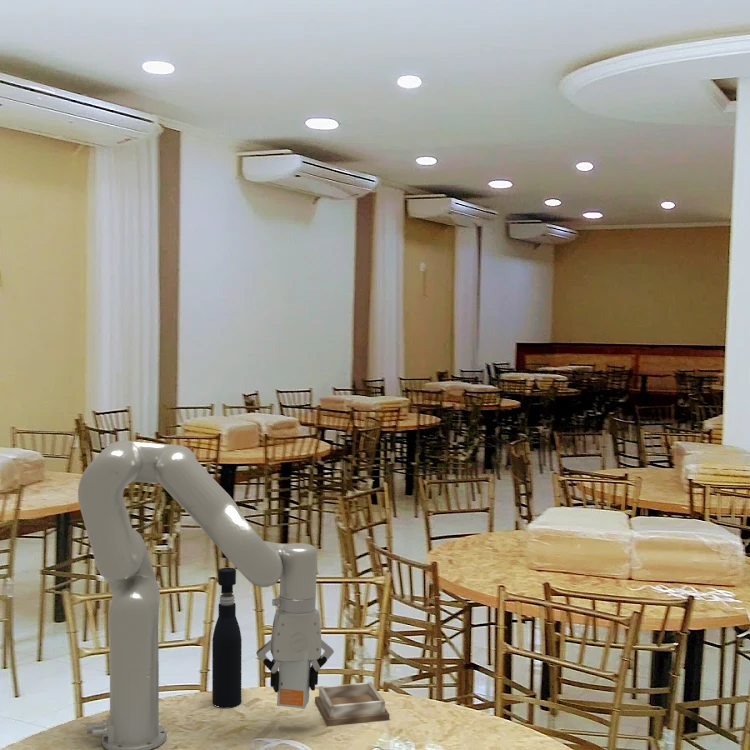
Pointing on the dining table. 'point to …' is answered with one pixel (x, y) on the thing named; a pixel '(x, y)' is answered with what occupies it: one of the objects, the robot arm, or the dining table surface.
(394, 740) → the dining table surface
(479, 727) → the dining table surface
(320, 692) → the square brown tray
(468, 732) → the dining table surface
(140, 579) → the robot arm
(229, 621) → the black water bottle
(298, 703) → the skincare box
